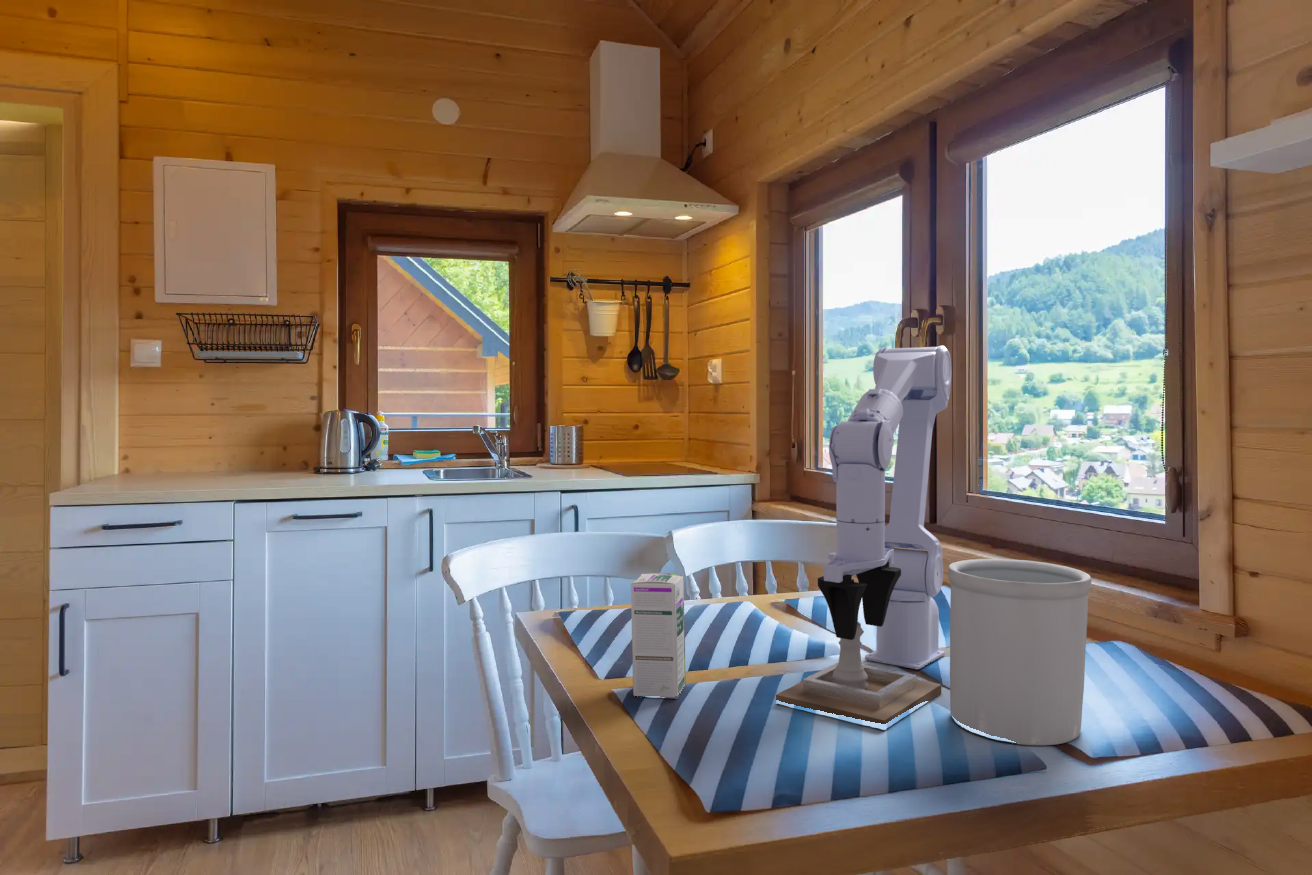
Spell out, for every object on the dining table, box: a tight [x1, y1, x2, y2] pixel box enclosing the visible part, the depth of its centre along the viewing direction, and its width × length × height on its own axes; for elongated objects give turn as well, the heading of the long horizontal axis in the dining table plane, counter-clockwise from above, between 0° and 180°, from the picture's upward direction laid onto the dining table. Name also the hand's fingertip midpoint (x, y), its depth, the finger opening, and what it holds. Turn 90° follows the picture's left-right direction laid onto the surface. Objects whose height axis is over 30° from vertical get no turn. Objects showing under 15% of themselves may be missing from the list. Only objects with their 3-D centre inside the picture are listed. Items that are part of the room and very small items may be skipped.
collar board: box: [775, 662, 942, 724], centre depth 110 cm, size 16×14×3 cm
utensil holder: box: [947, 558, 1092, 746], centre depth 101 cm, size 15×15×18 cm
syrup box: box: [630, 572, 687, 698], centre depth 113 cm, size 6×6×14 cm
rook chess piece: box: [832, 621, 869, 690], centre depth 111 cm, size 4×4×8 cm
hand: (860, 631), depth 110 cm, fingers open, 7 cm apart
